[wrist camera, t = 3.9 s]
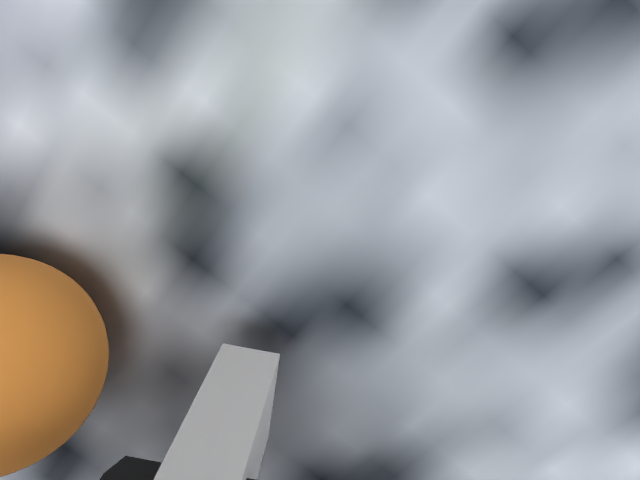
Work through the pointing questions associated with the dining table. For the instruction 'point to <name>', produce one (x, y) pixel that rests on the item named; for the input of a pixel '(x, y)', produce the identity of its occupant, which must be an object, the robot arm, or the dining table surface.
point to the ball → (45, 360)
